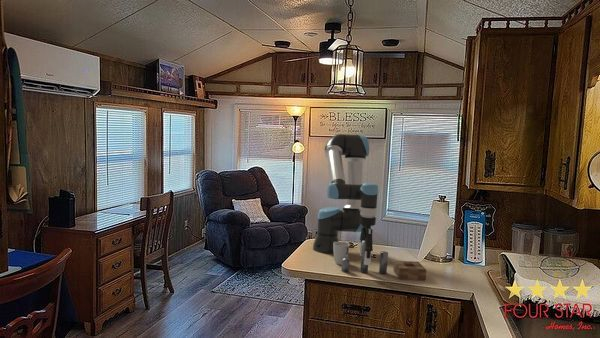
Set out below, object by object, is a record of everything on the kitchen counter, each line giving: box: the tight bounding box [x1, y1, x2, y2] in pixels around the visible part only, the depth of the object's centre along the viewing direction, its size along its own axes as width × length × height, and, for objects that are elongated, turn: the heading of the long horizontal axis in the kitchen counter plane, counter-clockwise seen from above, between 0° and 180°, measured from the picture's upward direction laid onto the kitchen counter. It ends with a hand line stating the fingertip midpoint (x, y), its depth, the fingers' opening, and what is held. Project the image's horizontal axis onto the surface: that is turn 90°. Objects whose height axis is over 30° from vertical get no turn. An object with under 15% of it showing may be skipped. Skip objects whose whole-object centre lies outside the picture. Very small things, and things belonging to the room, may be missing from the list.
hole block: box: [392, 260, 427, 281], centre depth 204 cm, size 12×12×5 cm
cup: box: [333, 241, 350, 266], centre depth 217 cm, size 8×8×10 cm
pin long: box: [359, 240, 369, 274], centre depth 205 cm, size 4×4×15 cm
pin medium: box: [378, 251, 389, 275], centre depth 206 cm, size 4×4×10 cm
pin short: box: [340, 257, 351, 273], centre depth 205 cm, size 4×4×6 cm
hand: (364, 260), depth 205 cm, fingers open, 13 cm apart
